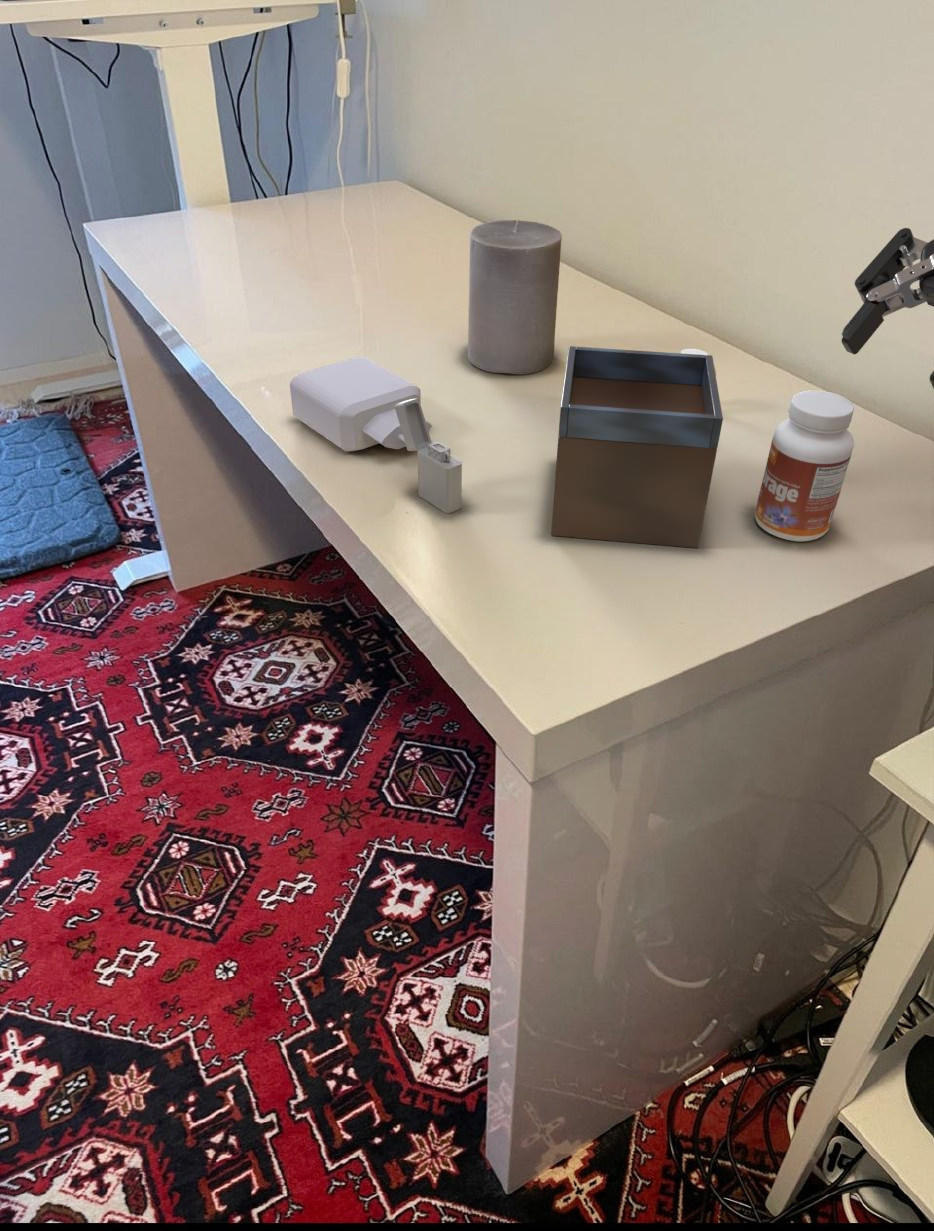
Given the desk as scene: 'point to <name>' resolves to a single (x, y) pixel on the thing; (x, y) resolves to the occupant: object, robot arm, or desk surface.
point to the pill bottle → (806, 467)
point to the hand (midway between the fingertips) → (889, 366)
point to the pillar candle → (513, 296)
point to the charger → (353, 403)
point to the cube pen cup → (636, 446)
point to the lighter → (431, 460)
